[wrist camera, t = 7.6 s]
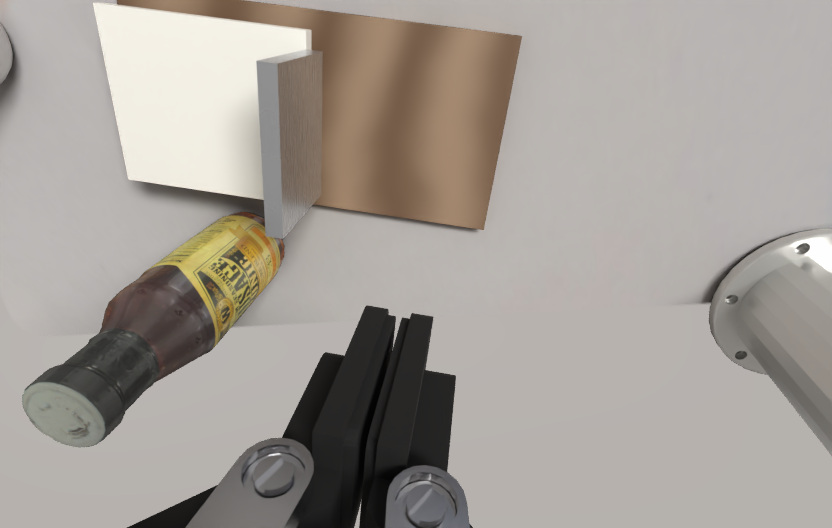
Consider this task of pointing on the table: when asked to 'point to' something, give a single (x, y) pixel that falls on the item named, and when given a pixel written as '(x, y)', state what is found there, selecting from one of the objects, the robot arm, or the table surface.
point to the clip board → (397, 108)
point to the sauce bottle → (156, 329)
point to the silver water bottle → (5, 54)
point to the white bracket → (217, 106)
